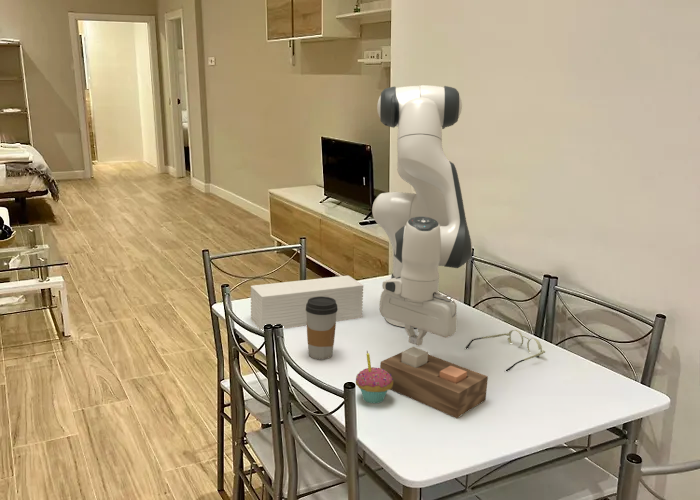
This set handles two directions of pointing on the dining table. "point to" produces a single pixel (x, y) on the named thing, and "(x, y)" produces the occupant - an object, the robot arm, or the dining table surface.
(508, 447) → the dining table surface
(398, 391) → the walnut key panel
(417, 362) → the cream white cube
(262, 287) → the stack of papers
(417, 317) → the robot arm
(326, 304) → the coffee cup
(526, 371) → the dining table surface
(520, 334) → the round eyeglasses
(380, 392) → the cupcake
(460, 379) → the terracotta key
